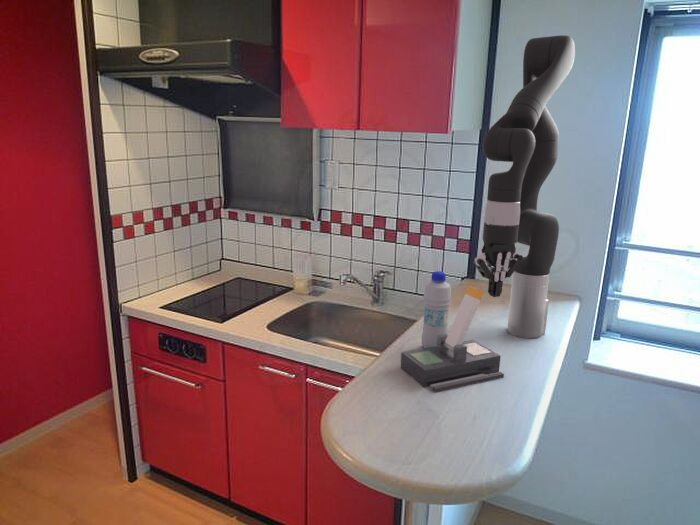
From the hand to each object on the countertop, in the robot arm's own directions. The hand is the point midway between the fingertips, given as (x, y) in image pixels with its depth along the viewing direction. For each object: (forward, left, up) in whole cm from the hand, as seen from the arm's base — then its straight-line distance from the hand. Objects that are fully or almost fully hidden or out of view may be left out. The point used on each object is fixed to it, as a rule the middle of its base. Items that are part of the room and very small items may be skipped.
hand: (494, 295), depth 120 cm
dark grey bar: (+11, +7, -17) cm, 21 cm away
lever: (+11, 0, -11) cm, 16 cm away
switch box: (+11, 0, -17) cm, 20 cm away
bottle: (+7, -12, -17) cm, 22 cm away
